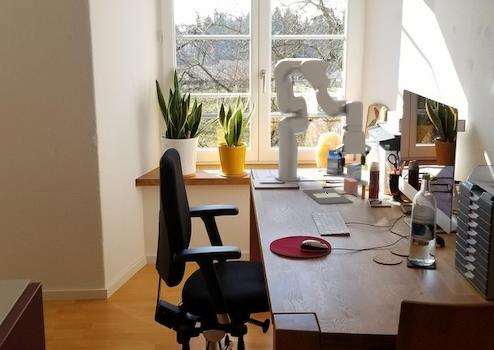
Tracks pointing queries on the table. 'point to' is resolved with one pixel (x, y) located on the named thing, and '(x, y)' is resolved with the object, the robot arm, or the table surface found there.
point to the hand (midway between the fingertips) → (352, 165)
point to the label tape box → (334, 163)
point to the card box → (350, 186)
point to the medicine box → (354, 171)
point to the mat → (327, 196)
